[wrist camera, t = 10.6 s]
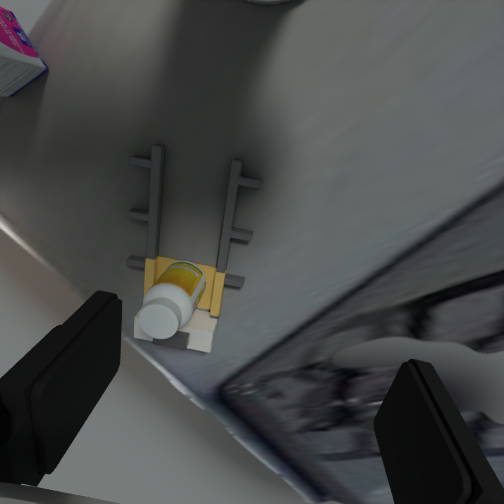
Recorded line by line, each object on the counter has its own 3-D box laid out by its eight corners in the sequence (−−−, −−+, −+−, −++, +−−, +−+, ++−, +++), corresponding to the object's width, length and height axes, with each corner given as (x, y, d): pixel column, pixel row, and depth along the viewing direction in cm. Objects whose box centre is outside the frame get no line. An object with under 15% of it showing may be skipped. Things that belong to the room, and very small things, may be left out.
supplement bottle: (212, 293, 41) (192, 341, 32) (173, 301, 42) (143, 349, 33) (199, 255, 39) (174, 293, 30) (158, 263, 40) (122, 304, 31)
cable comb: (134, 140, 35) (110, 143, 30) (264, 164, 35) (261, 171, 30) (129, 315, 44) (110, 339, 39) (233, 336, 43) (227, 363, 38)
